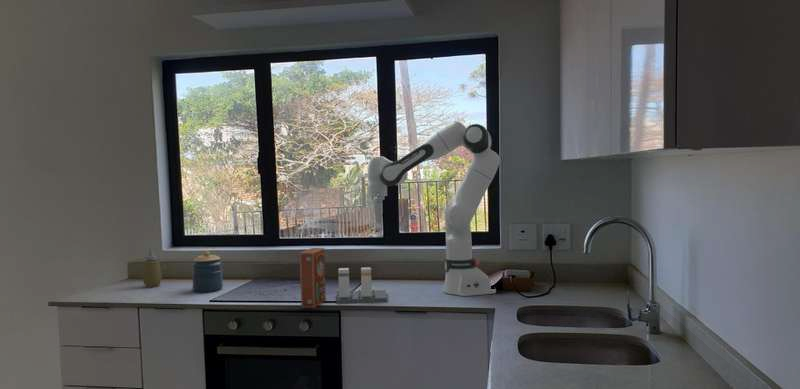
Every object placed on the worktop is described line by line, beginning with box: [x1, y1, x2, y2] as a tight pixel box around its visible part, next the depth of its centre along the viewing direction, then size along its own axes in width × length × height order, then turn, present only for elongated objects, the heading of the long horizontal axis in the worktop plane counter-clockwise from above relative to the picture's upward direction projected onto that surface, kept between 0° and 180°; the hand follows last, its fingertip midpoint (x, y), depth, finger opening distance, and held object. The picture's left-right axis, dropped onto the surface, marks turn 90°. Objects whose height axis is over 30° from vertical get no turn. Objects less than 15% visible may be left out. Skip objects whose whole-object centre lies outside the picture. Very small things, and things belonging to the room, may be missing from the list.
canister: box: [191, 250, 224, 293], centre depth 221 cm, size 13×13×18 cm
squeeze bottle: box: [142, 248, 163, 288], centre depth 230 cm, size 8×8×18 cm
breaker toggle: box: [360, 266, 372, 297], centre depth 196 cm, size 4×4×11 cm
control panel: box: [299, 247, 327, 309], centre depth 192 cm, size 21×7×15 cm
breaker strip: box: [335, 267, 388, 305], centre depth 199 cm, size 20×14×13 cm
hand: (378, 222), depth 221 cm, fingers closed
